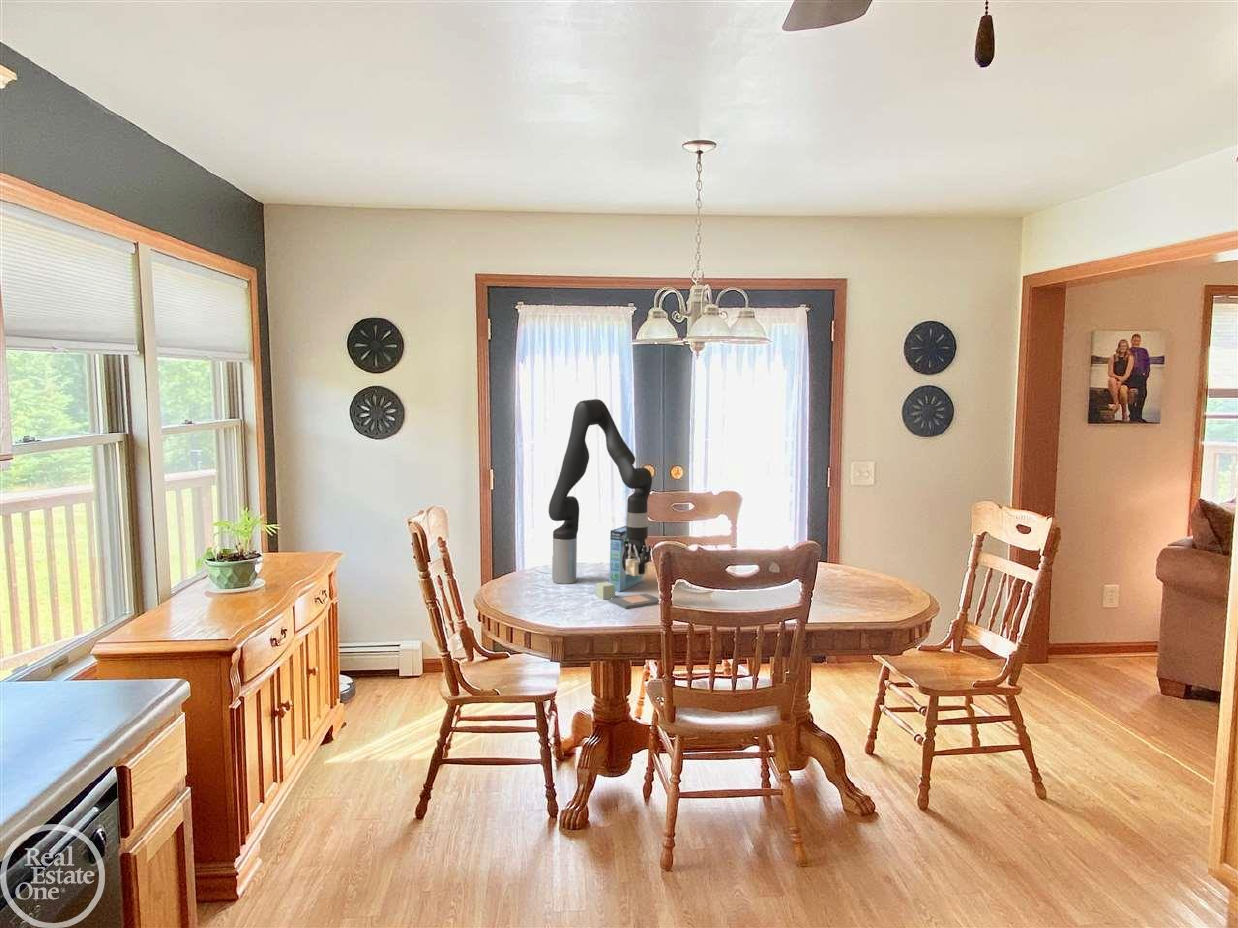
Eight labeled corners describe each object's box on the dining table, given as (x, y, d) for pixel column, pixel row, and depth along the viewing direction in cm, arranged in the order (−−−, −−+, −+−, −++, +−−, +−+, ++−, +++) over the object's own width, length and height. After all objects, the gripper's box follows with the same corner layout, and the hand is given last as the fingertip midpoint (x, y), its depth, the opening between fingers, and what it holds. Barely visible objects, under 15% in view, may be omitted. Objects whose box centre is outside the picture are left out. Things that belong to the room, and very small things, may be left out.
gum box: (631, 580, 320) (632, 522, 318) (643, 581, 318) (644, 523, 316) (608, 590, 303) (609, 530, 301) (620, 592, 300) (621, 531, 298)
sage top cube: (595, 597, 293) (596, 583, 293) (607, 595, 296) (607, 581, 295) (603, 600, 289) (603, 586, 288) (615, 598, 292) (615, 584, 291)
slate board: (608, 601, 287) (608, 598, 287) (646, 595, 295) (646, 592, 295) (625, 608, 277) (625, 605, 277) (663, 602, 286) (663, 599, 286)
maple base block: (625, 573, 286) (625, 559, 286) (638, 571, 289) (638, 557, 289) (634, 576, 281) (634, 562, 281) (647, 574, 284) (647, 560, 284)
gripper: (657, 526, 280) (657, 575, 281) (634, 521, 292) (634, 567, 293) (639, 528, 276) (639, 577, 277) (617, 522, 288) (616, 569, 289)
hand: (636, 572), depth 285 cm, fingers closed on maple base block, 5 cm apart
